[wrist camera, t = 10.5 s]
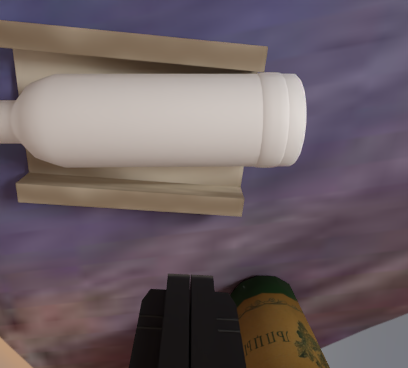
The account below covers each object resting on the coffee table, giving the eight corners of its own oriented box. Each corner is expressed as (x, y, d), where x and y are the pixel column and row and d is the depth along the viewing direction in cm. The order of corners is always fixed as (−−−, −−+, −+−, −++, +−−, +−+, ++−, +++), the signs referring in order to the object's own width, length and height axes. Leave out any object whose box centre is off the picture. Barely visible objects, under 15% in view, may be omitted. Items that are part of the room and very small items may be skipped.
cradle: (13, 21, 29) (-10, 19, 25) (259, 45, 30) (268, 46, 27) (34, 187, 35) (18, 202, 32) (237, 200, 36) (241, 216, 33)
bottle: (286, 182, 30) (-45, 185, 29) (276, 113, 34) (-20, 114, 33) (314, 131, 23) (-124, 133, 22) (298, 51, 26) (-81, 50, 26)
